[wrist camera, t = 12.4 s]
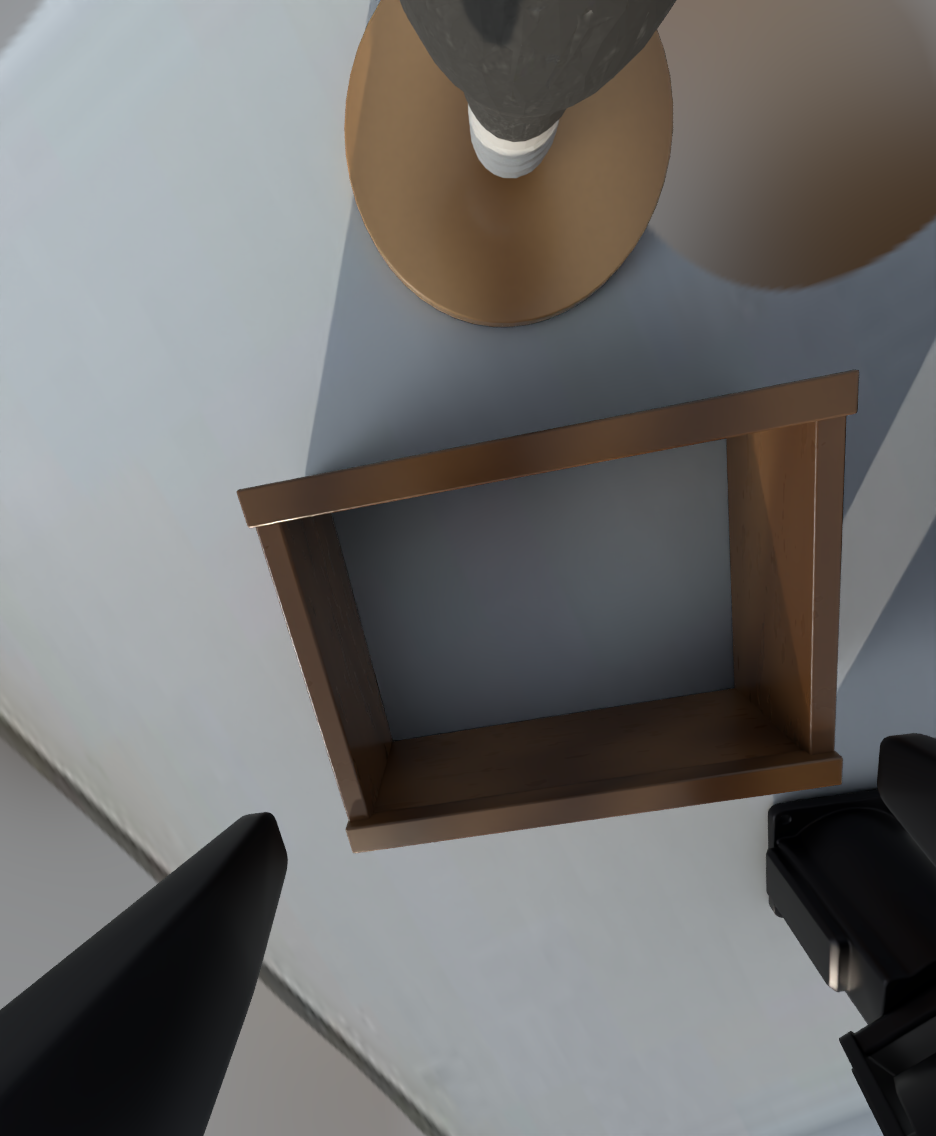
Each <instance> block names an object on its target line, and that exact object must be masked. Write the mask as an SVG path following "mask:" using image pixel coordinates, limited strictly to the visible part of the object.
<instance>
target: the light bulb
mask: <svg viewBox="0 0 936 1136" xmlns="http://www.w3.org/2000/svg"><path fill="white" fill-rule="evenodd" d="M675 1H676V0H400V3H401V5H402V8H403V10H404V12H405V14H406V16H407V18H408V20H409V21H410V23H411V25H412V26H413V28H414V30H415V31H416V33H417V35H418V36H419V38H420V40H421V41H422V43H423V45H424V46H425V48H426V50H427V51H428V53H429V55H430V56H431V58H432V59H433V61H434V62H435V64H436V65H437V66H438V67H439V68H440V70H441V71H442V72H443V73H444V74H445V75H446V76H447V78H448V79H449V80H450V81H451V82H452V83H453V84H454V85H455V86H456V87H458V88H459V89H460V90H462V91H463V92H464V95H465V98H466V100H467V102H468V115H469V124H470V134H471V141H472V144H473V147H474V150H475V152H476V154H477V157H478V159H479V160H480V162H481V163H482V164H483V165H484V167H485V168H486V169H488V170H489V171H490V172H492V173H493V174H494V175H497V176H500V177H502V178H518V177H520V176H523V175H526V174H528V173H530V172H532V171H533V170H534V169H535V168H536V167H537V166H538V165H539V164H540V163H541V162H542V160H543V158H544V157H545V155H546V154H547V152H548V150H549V149H550V147H551V145H552V143H553V140H554V137H555V134H556V131H557V127H558V123H559V119H560V118H561V117H562V115H563V114H564V112H565V110H566V108H569V107H572V106H574V105H575V104H577V103H579V102H581V101H582V100H584V99H586V98H588V97H590V96H592V95H593V94H595V93H596V92H597V91H598V90H600V89H601V88H602V87H603V86H604V85H605V84H606V83H608V82H609V81H610V80H611V79H613V78H614V77H615V76H616V75H617V74H618V73H619V72H620V71H621V70H622V69H623V68H624V67H625V66H626V65H627V64H628V63H629V62H630V61H631V60H632V59H633V58H634V57H635V56H636V55H637V54H638V53H639V52H640V51H641V50H642V49H643V48H644V47H645V45H646V44H647V43H648V41H649V40H650V39H651V37H652V36H653V34H654V33H655V31H656V30H657V28H658V27H659V25H660V24H661V22H662V21H663V19H664V18H665V17H666V15H667V14H668V12H669V11H670V9H671V7H672V6H673V5H674V3H675Z"/></svg>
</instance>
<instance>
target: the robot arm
mask: <svg viewBox="0 0 936 1136" xmlns="http://www.w3.org/2000/svg"><path fill="white" fill-rule="evenodd" d="M877 787H878V790H871V791H864V792H857V793H849V794H842V795H835V796H828V797H821V798H814V799H807V800H799V801H792V802H785V803H779V804H775V805H773V806H772V807H771V808H770V809H769V811H768V850H767V853H766V884H767V894H768V895H769V905H770V907H771V909H772V910H773V912H774V913H775V915H777V916H778V917H781V918H784V920H785V921H786V923H787V924H788V926H789V927H790V929H791V930H792V932H793V933H794V935H795V936H796V938H797V940H798V941H799V943H800V944H801V946H802V947H803V949H804V950H805V952H806V953H807V955H808V956H809V958H810V959H811V961H812V962H813V964H814V965H815V967H816V969H817V970H818V972H819V973H820V975H821V976H822V978H823V979H824V981H825V982H826V984H827V985H828V986H829V987H831V988H832V989H833V990H835V991H836V992H841V991H845V992H846V993H847V995H848V996H849V998H850V999H851V1001H852V1002H853V1003H854V1005H855V1006H856V1008H857V1009H858V1011H859V1012H860V1014H861V1015H862V1017H863V1018H864V1020H865V1021H866V1023H867V1024H868V1025H867V1026H866V1027H864V1028H862V1029H861V1030H859V1031H858V1032H856V1033H853V1032H852V1031H850V1032H848V1033H847V1034H845V1035H844V1036H842V1037H840V1038H839V1041H840V1043H841V1045H842V1047H843V1049H844V1051H845V1053H846V1055H847V1057H848V1059H849V1061H850V1063H851V1065H852V1067H853V1068H852V1072H853V1074H854V1076H855V1078H856V1081H857V1083H858V1085H859V1087H860V1089H861V1091H862V1093H863V1095H864V1097H865V1099H866V1101H867V1103H868V1105H869V1107H870V1109H871V1111H872V1113H873V1115H874V1117H875V1119H876V1121H877V1123H878V1125H879V1127H880V1129H881V1131H882V1133H883V1135H884V1136H936V739H935V738H932V737H929V736H926V735H923V734H917V733H910V734H902V735H894V736H888V737H886V738H884V739H883V741H882V742H881V744H880V752H879V765H878V777H877ZM287 863H288V858H287V852H286V849H285V846H284V843H283V840H282V837H281V834H280V831H279V828H278V825H277V822H276V819H275V817H274V816H273V815H272V814H271V813H268V812H263V813H255V814H248V815H245V816H242V817H241V818H240V819H238V820H237V821H236V822H235V823H233V824H232V825H231V826H230V827H228V828H227V829H226V830H225V831H223V832H222V833H221V834H220V835H218V836H217V837H216V838H215V839H213V840H212V841H211V842H210V843H208V844H207V845H206V846H205V847H203V848H202V849H201V850H200V851H198V852H197V853H196V854H195V855H193V856H192V857H191V858H190V859H188V860H187V861H186V862H185V863H183V864H182V865H181V866H180V867H178V868H177V869H176V870H175V871H173V872H172V873H171V874H170V875H168V876H167V877H166V878H165V879H163V880H162V881H161V882H160V883H158V884H157V885H156V886H155V887H153V888H152V889H151V890H150V891H148V892H147V893H146V894H145V895H143V896H142V897H141V898H140V899H138V900H137V901H136V902H135V903H133V904H132V905H131V906H130V907H128V908H127V909H126V910H125V911H123V912H122V913H121V914H120V915H118V916H117V917H116V918H115V919H113V920H112V921H111V922H110V923H108V924H107V925H106V926H105V927H103V928H102V929H101V930H100V931H98V932H97V933H96V934H95V935H93V936H92V937H91V938H90V939H88V940H87V941H86V942H85V943H83V944H82V945H81V946H80V947H78V948H77V949H76V950H75V951H73V952H72V953H71V954H70V955H68V956H67V957H66V958H65V959H63V960H62V961H61V962H60V963H59V964H58V965H56V966H55V967H53V968H52V969H51V970H50V971H49V972H47V973H46V974H45V975H43V976H42V977H41V978H40V979H38V980H37V981H36V982H35V983H33V984H32V985H31V986H30V987H28V988H27V989H26V990H25V991H23V992H22V993H21V994H20V995H18V996H17V997H16V998H15V999H13V1000H12V1001H11V1002H10V1003H8V1004H7V1005H6V1006H5V1007H4V1008H2V1009H1V1010H0V1136H203V1135H204V1133H205V1130H206V1127H207V1124H208V1121H209V1119H210V1115H211V1113H212V1110H213V1107H214V1104H215V1102H216V1099H217V1096H218V1093H219V1090H220V1088H221V1085H222V1082H223V1079H224V1076H225V1073H226V1070H227V1068H228V1065H229V1062H230V1059H231V1056H232V1054H233V1051H234V1048H235V1045H236V1042H237V1039H238V1037H239V1034H240V1031H241V1028H242V1025H243V1022H244V1020H245V1017H246V1014H247V1011H248V1008H249V1005H250V1002H251V999H252V996H253V993H254V990H255V986H256V983H257V979H258V976H259V973H260V969H261V965H262V962H263V958H264V954H265V950H266V947H267V943H268V939H269V935H270V932H271V928H272V924H273V920H274V917H275V913H276V909H277V905H278V901H279V898H280V894H281V890H282V886H283V883H284V879H285V875H286V871H287Z"/></svg>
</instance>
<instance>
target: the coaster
mask: <svg viewBox="0 0 936 1136" xmlns="http://www.w3.org/2000/svg"><path fill="white" fill-rule="evenodd" d="M344 130H345V149H346V159H347V165H348V171H349V178H350V182H351V186H352V189H353V193H354V197H355V200H356V204H357V206H358V209H359V211H360V214H361V216H362V219H363V221H364V224H365V226H366V228H367V230H368V232H369V234H370V236H371V238H372V240H373V242H374V244H375V245H376V247H377V249H378V251H379V253H380V254H381V256H382V257H383V258H384V260H385V261H386V263H387V264H388V266H389V267H390V268H391V270H392V271H393V272H394V273H395V274H396V275H397V277H398V278H399V279H400V280H401V281H402V282H403V283H404V284H405V286H407V287H408V288H409V289H410V290H411V291H412V292H414V293H415V294H416V295H417V296H418V297H419V298H421V299H422V300H423V301H425V302H427V303H428V304H430V305H431V306H433V307H434V308H436V309H437V310H439V311H441V312H443V313H446V314H448V315H450V316H452V317H454V318H457V319H460V320H463V321H466V322H470V323H473V324H478V325H485V326H491V327H514V326H521V325H529V324H533V323H537V322H540V321H544V320H547V319H550V318H552V317H555V316H557V315H559V314H561V313H564V312H566V311H568V310H569V309H571V308H573V307H574V306H576V305H578V304H579V303H581V302H583V301H584V300H585V299H587V298H588V297H589V296H590V295H592V294H593V293H594V292H595V291H597V290H598V289H599V288H600V287H601V286H602V285H603V284H604V283H605V282H606V281H607V280H608V279H609V278H610V277H611V276H612V275H613V274H614V273H615V272H616V271H617V270H618V268H619V267H620V266H621V265H622V263H623V262H624V261H625V259H626V258H627V257H628V256H629V254H630V253H631V252H632V250H633V249H634V248H635V246H636V244H637V243H638V241H639V239H640V238H641V236H642V234H643V233H644V231H645V229H646V227H647V225H648V223H649V221H650V219H651V216H652V214H653V212H654V210H655V208H656V205H657V203H658V199H659V196H660V193H661V191H662V188H663V184H664V182H665V177H666V172H667V168H668V163H669V159H670V152H671V142H672V133H673V99H672V90H671V80H670V74H669V70H668V65H667V60H666V56H665V51H664V48H663V45H662V42H661V39H660V37H659V34H658V31H657V30H656V31H655V33H654V34H653V36H652V37H651V39H650V40H649V41H648V43H647V44H646V45H645V47H644V48H643V49H642V50H641V51H640V52H639V53H638V54H637V55H636V56H635V57H634V58H633V59H632V60H631V61H630V62H629V63H628V64H627V65H626V66H625V67H624V68H623V69H622V70H621V71H620V72H619V73H618V74H617V75H616V76H615V77H614V78H613V79H611V80H610V81H609V82H608V83H606V84H605V85H604V86H603V87H602V88H601V89H600V90H598V91H597V92H596V93H595V94H593V95H592V96H590V97H588V98H586V99H584V100H582V101H581V102H579V103H577V104H575V105H574V106H572V107H569V108H566V110H565V112H564V114H563V115H562V117H561V118H560V119H559V123H558V127H557V131H556V134H555V137H554V140H553V143H552V145H551V147H550V149H549V150H548V152H547V154H546V155H545V157H544V158H543V160H542V162H541V163H540V164H539V165H538V166H537V167H536V168H535V169H534V170H533V171H532V172H530V173H528V174H526V175H523V176H520V177H518V178H502V177H500V176H497V175H494V174H493V173H492V172H490V171H489V170H488V169H486V168H485V167H484V165H483V164H482V163H481V162H480V160H479V159H478V157H477V154H476V152H475V150H474V147H473V144H472V141H471V134H470V124H469V115H468V102H467V100H466V98H465V95H464V92H463V91H462V90H460V89H459V88H458V87H456V86H455V85H454V84H453V83H452V82H451V81H450V80H449V79H448V78H447V76H446V75H445V74H444V73H443V72H442V71H441V70H440V68H439V67H438V66H437V65H436V64H435V62H434V61H433V59H432V58H431V56H430V55H429V53H428V51H427V50H426V48H425V46H424V45H423V43H422V41H421V40H420V38H419V36H418V35H417V33H416V31H415V30H414V28H413V26H412V25H411V23H410V21H409V20H408V18H407V16H406V14H405V12H404V10H403V8H402V5H401V3H400V0H381V1H380V3H379V5H378V6H377V8H376V10H375V12H374V14H373V15H372V17H371V19H370V21H369V23H368V25H367V27H366V30H365V32H364V34H363V37H362V39H361V42H360V44H359V47H358V49H357V53H356V56H355V60H354V64H353V67H352V71H351V74H350V80H349V86H348V92H347V98H346V109H345V127H344Z"/></svg>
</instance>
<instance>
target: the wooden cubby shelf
mask: <svg viewBox="0 0 936 1136" xmlns="http://www.w3.org/2000/svg"><path fill="white" fill-rule="evenodd" d="M858 386H859V370H851V371H846V372H840V373H835V374H830V375H825V376H820V377H815V378H810V379H805V380H799V381H794V382H789V383H784V384H779V385H774V386H769V387H763V388H758V389H753V390H748V391H743V392H738V393H733V394H727V395H722V396H717V397H712V398H707V399H702V400H697V401H692V402H686V403H681V404H676V405H671V406H666V407H661V408H656V409H650V410H645V411H640V412H635V413H630V414H625V415H620V416H614V417H609V418H604V419H599V420H594V421H589V422H584V423H578V424H573V425H568V426H563V427H558V428H553V429H548V430H543V431H537V432H532V433H527V434H522V435H517V436H512V437H507V438H501V439H496V440H491V441H486V442H481V443H476V444H471V445H465V446H460V447H455V448H450V449H445V450H440V451H435V452H429V453H424V454H419V455H414V456H409V457H404V458H399V459H394V460H388V461H383V462H378V463H373V464H368V465H363V466H358V467H352V468H347V469H342V470H337V471H332V472H327V473H322V474H316V475H311V476H306V477H301V478H296V479H291V480H286V481H281V482H275V483H270V484H265V485H260V486H255V487H250V488H245V489H239V490H238V491H237V495H238V498H239V501H240V504H241V507H242V510H243V514H244V517H245V520H246V523H247V526H248V527H249V528H254V527H256V530H257V533H258V536H259V540H260V543H261V546H262V549H263V552H264V555H265V558H266V562H267V565H268V568H269V571H270V574H271V577H272V580H273V584H274V587H275V590H276V593H277V596H278V599H279V602H280V606H281V609H282V612H283V615H284V618H285V621H286V624H287V628H288V631H289V634H290V637H291V640H292V643H293V647H294V650H295V653H296V656H297V659H298V662H299V665H300V669H301V672H302V675H303V678H304V681H305V684H306V687H307V691H308V694H309V697H310V700H311V703H312V706H313V709H314V713H315V716H316V719H317V722H318V725H319V728H320V731H321V735H322V738H323V741H324V744H325V747H326V750H327V753H328V757H329V760H330V763H331V766H332V769H333V772H334V775H335V779H336V782H337V785H338V788H339V791H340V794H341V798H342V801H343V804H344V807H345V810H346V813H347V816H348V824H347V827H346V833H347V836H348V839H349V842H350V845H351V848H352V851H353V853H360V852H367V851H374V850H381V849H388V848H396V847H403V846H410V845H417V844H424V843H431V842H438V841H445V840H452V839H459V838H466V837H473V836H480V835H488V834H495V833H502V832H509V831H516V830H523V829H530V828H537V827H544V826H551V825H558V824H565V823H572V822H579V821H587V820H594V819H601V818H608V817H615V816H622V815H629V814H636V813H643V812H650V811H657V810H664V809H671V808H679V807H686V806H693V805H700V804H707V803H714V802H721V801H728V800H735V799H742V798H749V797H756V796H763V795H770V794H778V793H785V792H792V791H799V790H806V789H813V788H820V787H827V786H834V785H840V784H842V768H843V758H842V756H840V755H839V754H838V753H837V752H836V751H835V750H834V747H835V719H836V691H837V663H838V635H839V607H840V579H841V551H842V523H843V495H844V467H845V440H846V416H847V415H852V414H855V413H857V410H858ZM725 438H726V442H727V473H728V504H729V534H730V565H731V596H732V627H733V658H734V687H735V688H732V689H726V690H720V691H713V692H707V693H700V694H694V695H687V696H681V697H675V698H668V699H662V700H655V701H649V702H643V703H636V704H630V705H623V706H617V707H611V708H604V709H598V710H591V711H585V712H578V713H572V714H566V715H559V716H553V717H546V718H540V719H534V720H527V721H521V722H514V723H508V724H502V725H495V726H489V727H482V728H476V729H469V730H463V731H457V732H450V733H444V734H437V735H431V736H425V737H418V738H412V739H405V740H399V741H393V742H392V736H391V733H390V729H389V725H388V722H387V718H386V714H385V710H384V707H383V703H382V699H381V696H380V692H379V688H378V685H377V681H376V677H375V673H374V670H373V666H372V662H371V659H370V655H369V651H368V648H367V644H366V640H365V636H364V633H363V629H362V625H361V622H360V618H359V614H358V610H357V607H356V603H355V599H354V596H353V592H352V588H351V585H350V581H349V577H348V573H347V570H346V566H345V562H344V559H343V555H342V551H341V548H340V544H339V540H338V536H337V533H336V529H335V525H334V522H333V518H332V514H331V513H334V512H339V511H344V510H349V509H355V508H360V507H365V506H371V505H376V504H381V503H387V502H392V501H397V500H402V499H408V498H413V497H418V496H424V495H429V494H434V493H439V492H445V491H450V490H455V489H461V488H466V487H471V486H477V485H482V484H487V483H492V482H498V481H503V480H508V479H514V478H519V477H524V476H529V475H535V474H540V473H545V472H551V471H556V470H561V469H566V468H572V467H577V466H582V465H588V464H593V463H598V462H604V461H609V460H614V459H619V458H625V457H630V456H635V455H641V454H646V453H651V452H656V451H662V450H667V449H672V448H678V447H683V446H688V445H694V444H699V443H704V442H709V441H715V440H720V439H725Z"/></svg>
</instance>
